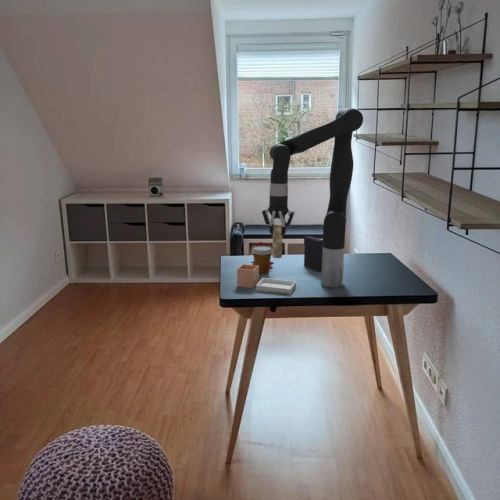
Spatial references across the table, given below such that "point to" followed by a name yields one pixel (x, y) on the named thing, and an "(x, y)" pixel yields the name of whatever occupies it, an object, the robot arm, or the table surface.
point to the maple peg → (277, 241)
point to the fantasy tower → (264, 245)
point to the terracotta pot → (247, 276)
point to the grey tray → (276, 286)
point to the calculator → (313, 253)
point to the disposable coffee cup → (262, 258)
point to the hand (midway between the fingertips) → (277, 234)
